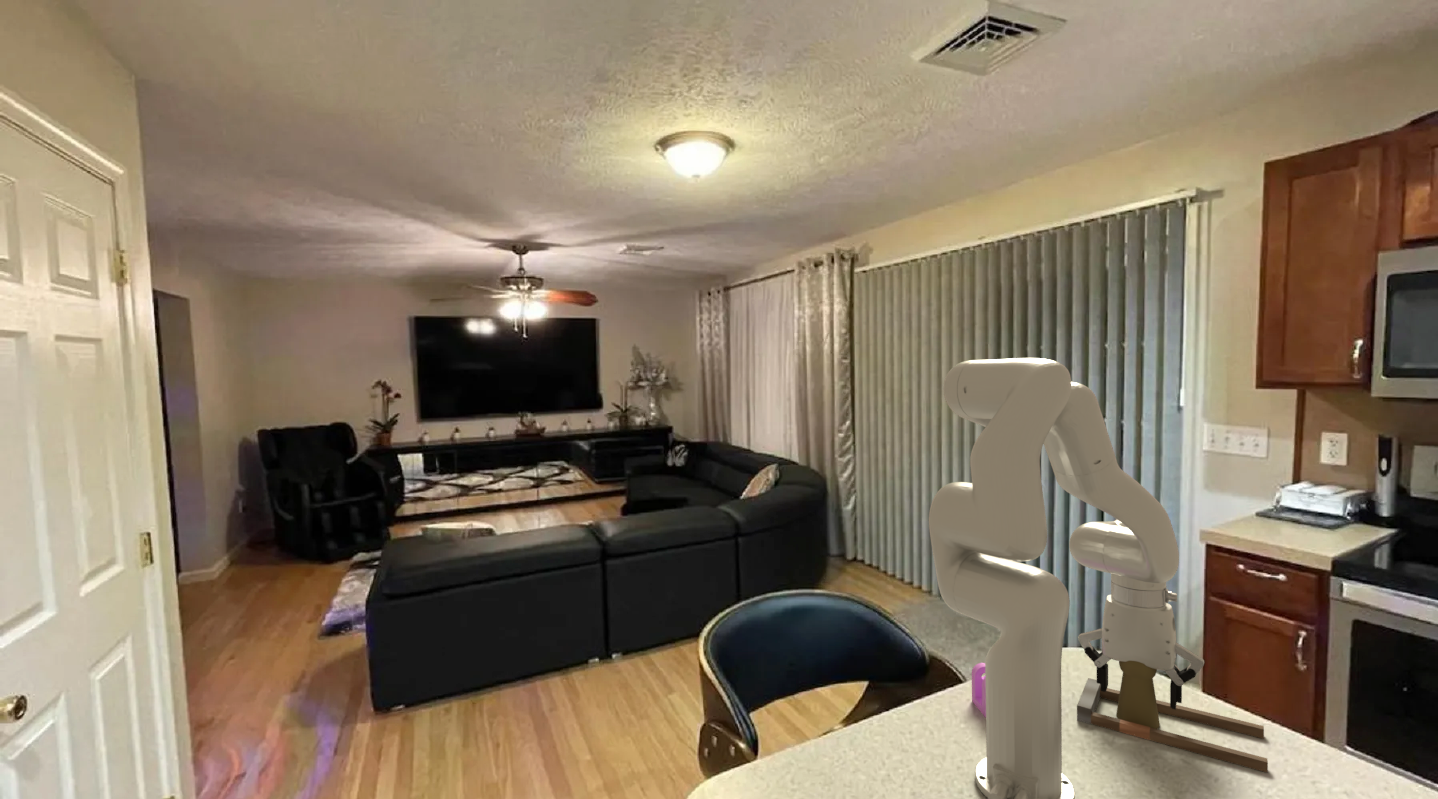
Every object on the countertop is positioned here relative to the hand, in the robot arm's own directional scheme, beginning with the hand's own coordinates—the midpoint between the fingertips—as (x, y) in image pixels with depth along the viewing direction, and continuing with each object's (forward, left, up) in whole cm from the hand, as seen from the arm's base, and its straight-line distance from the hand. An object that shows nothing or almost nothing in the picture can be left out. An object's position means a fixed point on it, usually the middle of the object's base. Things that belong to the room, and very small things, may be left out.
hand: (1138, 696), depth 105 cm
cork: (0, 0, -4) cm, 4 cm away
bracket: (-7, +17, -4) cm, 19 cm away
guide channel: (0, -4, -4) cm, 6 cm away
